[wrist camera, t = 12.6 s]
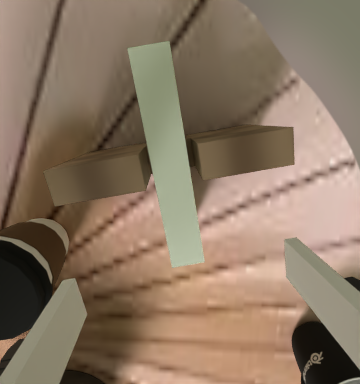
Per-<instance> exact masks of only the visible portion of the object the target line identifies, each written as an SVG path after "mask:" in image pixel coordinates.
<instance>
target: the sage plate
mask: <svg viewBox="0 0 360 384" xmlns="http://www.w3.org/2000/svg"><path fill="white" fill-rule="evenodd" d="M127 50H128V54H129V59H130V64H131V69H132V74H133V79H134V84H135V89H136V93H137V98H138V103H139V108H140V113H141V118H142V123H143V128H144V133H145V137H146V142H147V147H148V152H149V157H150V162H151V167H152V172H153V176H154V181H155V186H156V191H157V196H158V201H159V206H160V211H161V215H162V220H163V225H164V230H165V235H166V240H167V245H168V250H169V254H170V259H171V264H172V268H174V267H180V266H185V265H191V264H197V263H202V262H205V261H204V255H203V249H202V242H201V236H200V230H199V224H198V217H197V211H196V205H195V198H194V192H193V186H192V180H191V173H190V167H189V161H188V154H187V148H186V142H185V136H184V129H183V123H182V117H181V111H180V104H179V98H178V92H177V85H176V79H175V73H174V67H173V60H172V54H171V48H170V41H165V42H159V43H154V44H148V45H142V46H137V47H131V48H127Z"/></svg>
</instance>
